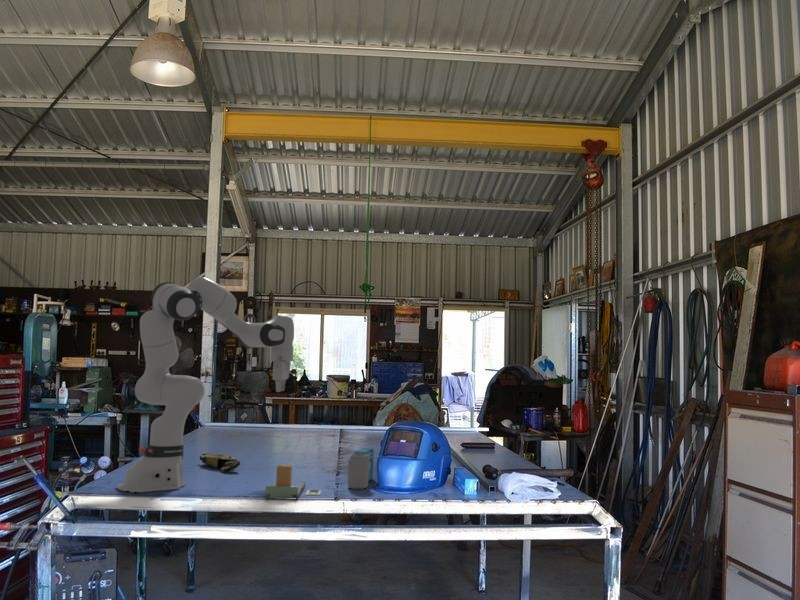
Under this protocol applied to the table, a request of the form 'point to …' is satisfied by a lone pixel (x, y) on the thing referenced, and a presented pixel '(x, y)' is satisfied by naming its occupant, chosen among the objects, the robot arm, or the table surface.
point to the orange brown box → (284, 475)
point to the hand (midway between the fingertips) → (280, 391)
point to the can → (358, 471)
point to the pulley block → (220, 462)
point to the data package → (370, 455)
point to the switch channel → (288, 491)
